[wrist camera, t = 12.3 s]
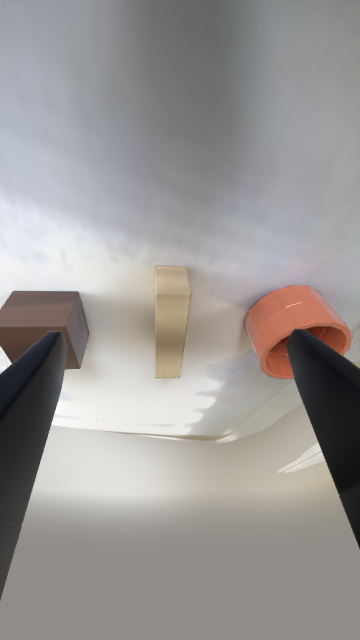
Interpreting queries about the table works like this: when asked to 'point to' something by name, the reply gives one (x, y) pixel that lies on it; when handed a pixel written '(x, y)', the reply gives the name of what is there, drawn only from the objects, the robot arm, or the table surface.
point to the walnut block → (43, 323)
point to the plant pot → (292, 326)
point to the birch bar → (170, 319)
